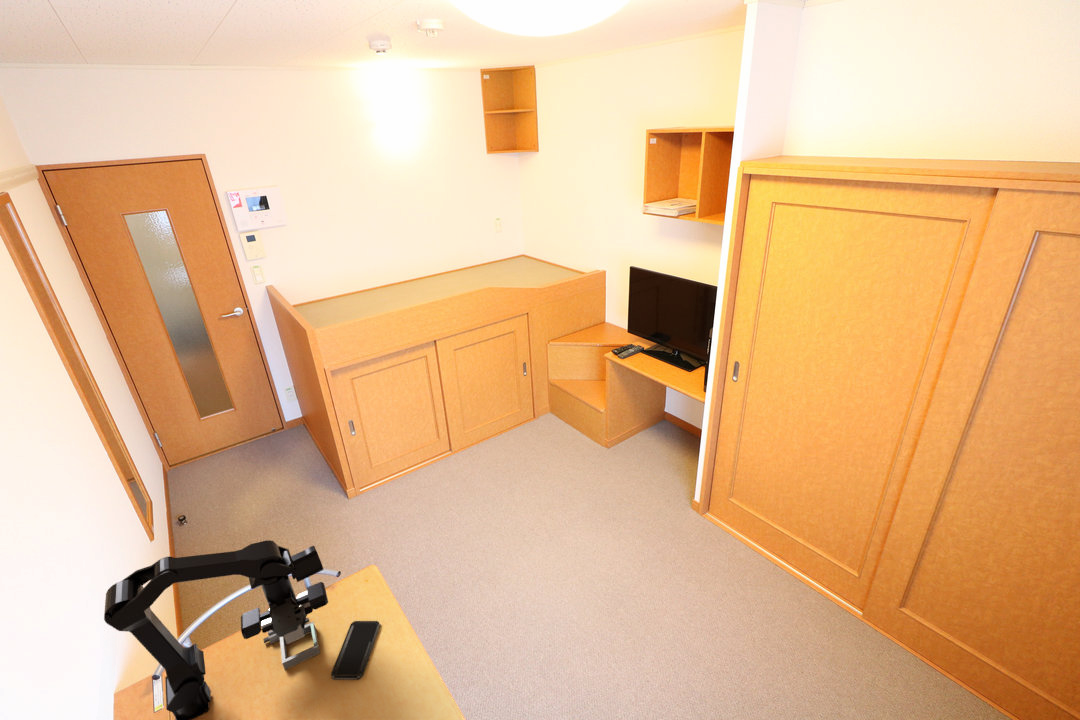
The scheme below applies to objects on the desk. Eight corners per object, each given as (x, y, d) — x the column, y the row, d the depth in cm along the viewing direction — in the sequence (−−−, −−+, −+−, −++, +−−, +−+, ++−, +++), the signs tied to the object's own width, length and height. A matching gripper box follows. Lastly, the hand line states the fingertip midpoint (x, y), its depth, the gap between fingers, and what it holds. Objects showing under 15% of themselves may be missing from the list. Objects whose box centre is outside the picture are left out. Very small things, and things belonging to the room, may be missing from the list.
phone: (329, 677, 120) (352, 620, 134) (330, 680, 121) (352, 623, 134) (361, 678, 120) (381, 620, 133) (362, 680, 120) (381, 623, 134)
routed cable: (265, 646, 129) (262, 641, 128) (264, 638, 131) (262, 633, 130) (310, 626, 133) (308, 620, 132) (309, 619, 135) (307, 613, 134)
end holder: (284, 669, 123) (281, 661, 122) (281, 642, 129) (278, 634, 128) (319, 653, 126) (317, 645, 125) (315, 627, 133) (312, 619, 132)
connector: (286, 644, 123) (280, 626, 120) (285, 631, 126) (278, 613, 123) (304, 636, 125) (298, 618, 122) (302, 623, 128) (296, 606, 125)
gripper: (233, 634, 108) (253, 678, 115) (324, 595, 116) (338, 639, 123) (232, 596, 116) (251, 639, 123) (317, 562, 125) (330, 605, 131)
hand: (293, 631), depth 125 cm, fingers closed on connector, 4 cm apart
